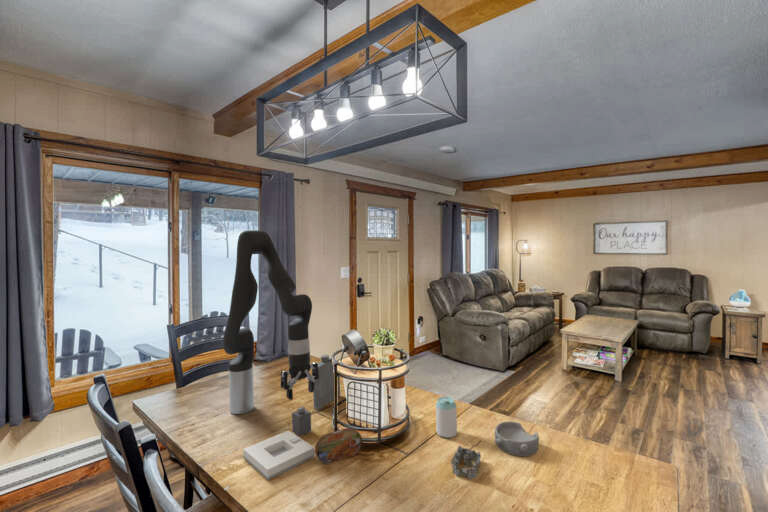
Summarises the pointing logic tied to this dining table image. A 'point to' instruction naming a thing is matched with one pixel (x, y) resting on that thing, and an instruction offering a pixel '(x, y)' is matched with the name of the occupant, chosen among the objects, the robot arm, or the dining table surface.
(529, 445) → the dish
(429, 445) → the dining table surface
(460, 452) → the grey jagged ring
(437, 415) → the can
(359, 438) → the tin
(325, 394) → the hip flask
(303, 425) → the plug
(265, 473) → the socket
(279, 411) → the dining table surface
